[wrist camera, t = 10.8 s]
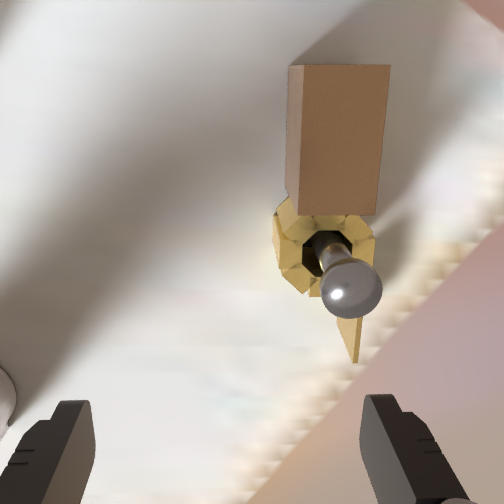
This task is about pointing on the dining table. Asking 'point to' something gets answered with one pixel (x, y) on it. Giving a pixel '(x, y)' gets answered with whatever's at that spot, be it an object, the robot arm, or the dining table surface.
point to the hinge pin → (345, 278)
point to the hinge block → (330, 170)
